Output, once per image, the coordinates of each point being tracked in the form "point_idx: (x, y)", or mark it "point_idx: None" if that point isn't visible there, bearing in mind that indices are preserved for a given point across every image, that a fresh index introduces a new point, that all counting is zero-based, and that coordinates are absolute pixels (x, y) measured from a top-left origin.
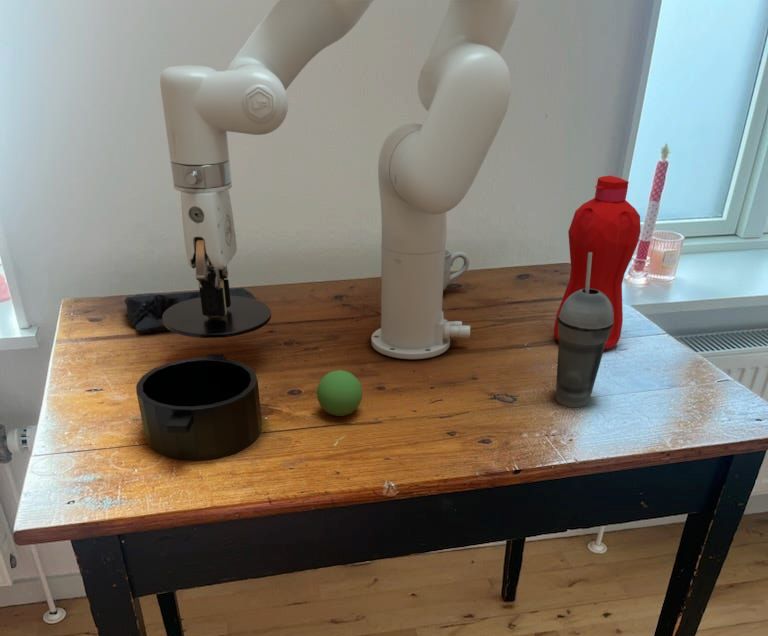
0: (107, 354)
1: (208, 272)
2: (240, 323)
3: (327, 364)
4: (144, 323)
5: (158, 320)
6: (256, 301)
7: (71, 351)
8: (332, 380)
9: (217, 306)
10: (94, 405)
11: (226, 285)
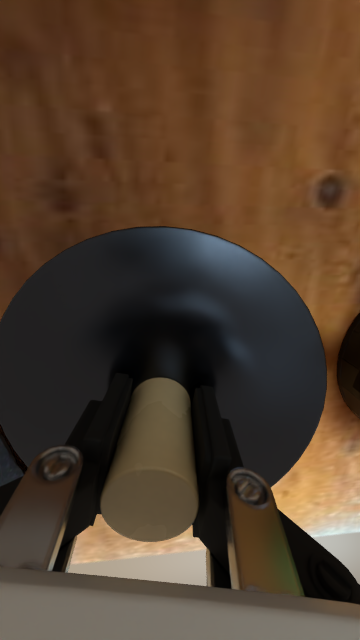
0: None
1: (70, 552)
2: (254, 332)
3: (196, 95)
4: None
5: (2, 474)
6: (40, 283)
7: (102, 551)
8: None
9: (225, 425)
10: (290, 499)
11: (113, 430)
